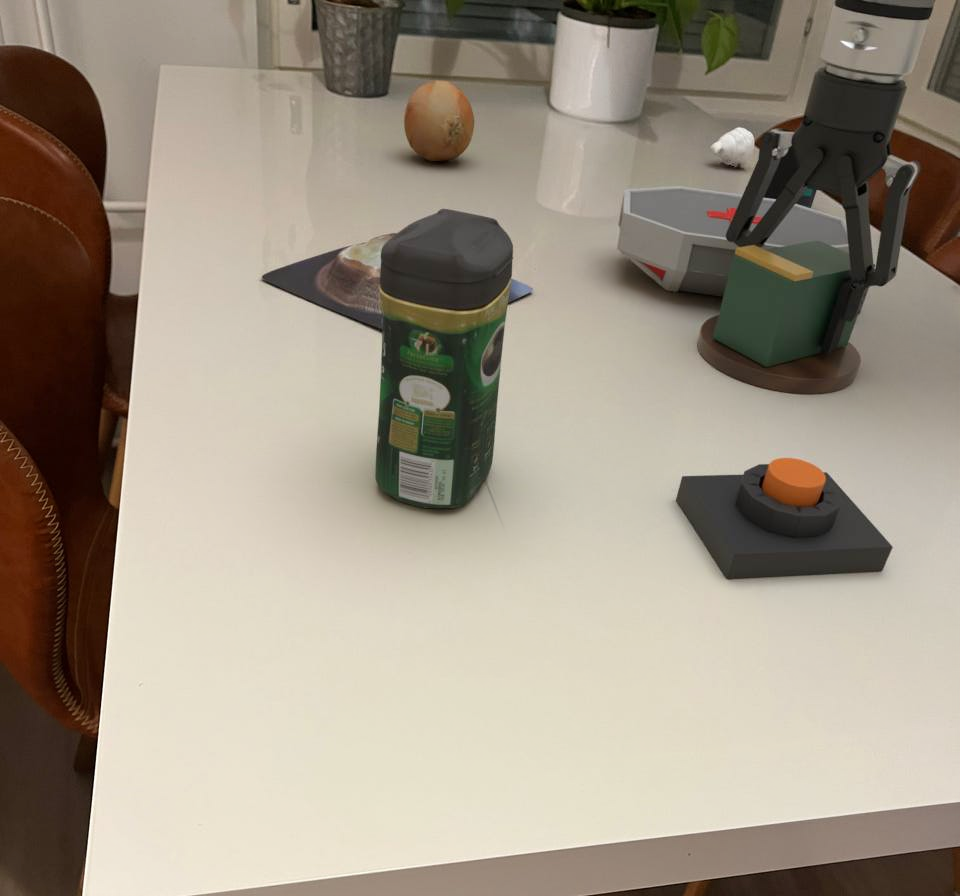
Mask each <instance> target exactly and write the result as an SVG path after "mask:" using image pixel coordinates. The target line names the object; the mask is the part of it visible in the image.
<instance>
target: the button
mask: <svg viewBox="0 0 960 896" xmlns="http://www.w3.org/2000/svg"><path fill="white" fill-rule="evenodd" d="M768 464H769V466H768V469H767V472H766V475H765V478H764V481H763V484H762V490H763V492H764V493H765V494H766V495H768V496H770V497H771V498H773V499H775V500H777V501H779V502H781V503H784V504H788V505H792V506H796V507H806V506H814V505H815V504H816V503H817V502H818V500H819V497H820V495H821V492H822V489H823V487H824V484H825V481H826V477H825V474H824V473H823V472H824V471H823V470H822V469H821V468H820V467H818V466H816V465H814V464H813V463H812V462H809V461H806V460H804V459H803V460H802V459H800V458H795V457H780V458H779V457H778V458H776V459H774V460H771V461H770V462H769V463H768Z"/></svg>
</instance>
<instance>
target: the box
mask: <svg viewBox="0 0 960 896" xmlns="http://www.w3.org/2000/svg"><path fill="white" fill-rule="evenodd" d="M735 254H736V255H734V257H733V261H732V265H731V269H730V273H729V277H728V280H727V284H726V288H725V292H724V296H723V297H722V300H721V304H720V308H719V311H718V314H717V315H718V319H717V323H716V327H715V331H714V335H713V339H715V340H717V341H719V342H720V343H722V344H724V345H726V346H728V347H730V348H732V349H733V350H735V351H737V352H739V353H741V354H743V355H744V356H746V357H748V358H750V359H752V360H754V361H755V362H757V363H759V364H761V365H763V366H765V367H769V366H773V365H777V364H780V363H784V362H788V361H792V360H795V359H799V358H803V357H807V356H811V355H814V354H818V353H820V351H821V348H822V345H823V341H824V338H825V335H826V332H827V329H828V326H829V323H830V320H831V317H832V314H833V311H834V308H835V305H836V302H837V299H838V295H839V292H840V289H841V286H842V284H844V283H845V282H847V281H848V280H849V279H851V278H852V277H851V267H850V257H849V253H847V252H844V251H842V250H840V249H837V248H835V247H833V246H830V245H828V244H825V243H823V242H821V241H818V240H817V241H811V242H806V243H800V244H794V245H789V246H783V247H777V248H772V249H766V250H764V249H762V248H760V247H757V246H755V245H750V246H744V247H739V248H736V251H735ZM873 264H874V268H876V263H873ZM857 319H858V317H857V318H855V319H854V320H853V321H852V322H850V321H847V320H846V323H845V326H844V329H843V332H842V335H841V338H840V340H839V343H838V346H837V348H841V347H844V346H847V345H848V342H849V343H850V339H851V336H852V333H853V331H854V328H855V327H854V326H855V324H856V322H857ZM837 348H836V349H837Z"/></svg>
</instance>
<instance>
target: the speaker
mask: <svg viewBox="0 0 960 896" xmlns="http://www.w3.org/2000/svg"><path fill="white" fill-rule="evenodd" d="M779 128H780V127H779ZM780 129H782V130H783V132H795V131H796V130H791V129H787V128H782V127H781V128H780ZM798 169H799V168H798V165H797V161H796V158H795V155H794V152H793V148H792V146H790V147H789V149H788V152H787V154H786V155H785V156H783V157H781V159H780V162H779V164H778V167H777V169H776V171H775V174H774V176H773V178H772V180H771V182H770V185H769V187H768V189H767V191H766V193H765V196H764V198H769V199H777V198H778V197H779V195H780V194H781V193H782V191H783V190H784V189H785V186H786V184H787V183H788V182H789V180H790V179H791V178H792V176H793V175H794V174H795V173H796V171H797V170H798ZM817 192H818V190H812V189H807V190H806V191H805V192H804V194H803V195H802V196H801V197H800V199H799V200H798V201H797V202H796V204H798V205H801V206H804V207H808V208H811V209H812V206H813V203H814V200H815V198H816V194H817Z"/></svg>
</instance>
